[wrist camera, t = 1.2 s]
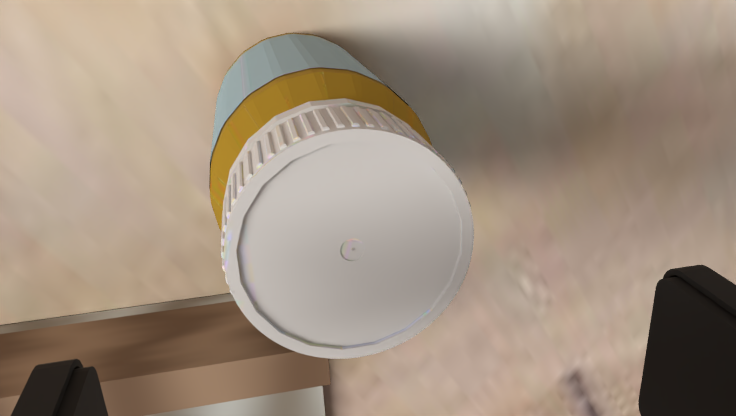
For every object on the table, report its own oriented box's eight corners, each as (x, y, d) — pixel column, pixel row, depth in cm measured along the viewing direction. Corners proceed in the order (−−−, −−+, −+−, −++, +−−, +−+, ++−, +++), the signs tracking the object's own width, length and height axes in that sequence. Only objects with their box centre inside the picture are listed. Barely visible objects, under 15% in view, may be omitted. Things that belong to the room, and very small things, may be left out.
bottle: (284, -4, 26) (340, 40, 13) (400, 100, 29) (546, 227, 16) (184, 119, 28) (138, 280, 14) (304, 209, 30) (363, 415, 17)
